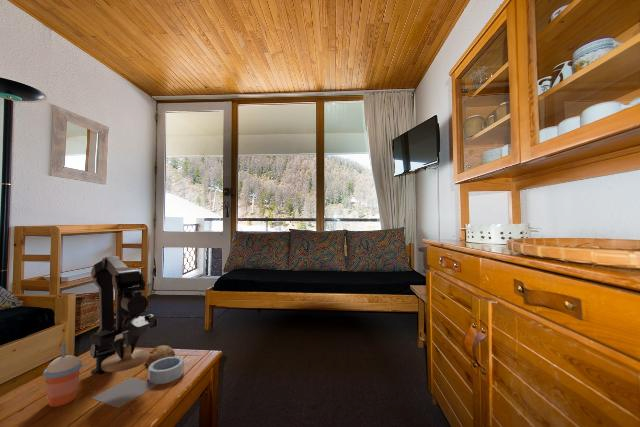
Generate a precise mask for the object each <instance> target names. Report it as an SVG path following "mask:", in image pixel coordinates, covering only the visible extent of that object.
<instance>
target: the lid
mask: <svg viewBox="0 0 640 427" xmlns="http://www.w3.org/2000/svg"><path fill="white" fill-rule="evenodd" d="M149 352H150V351H148V350H147V349H134V351H133V354H131V344H128V343H126V344H124V353H123V358H122V359H121V358H119V356H118V354H117V353H115V354H114V355H112V356H110V357H108V358H106V359H105V360H104V361H103V362H102V363H101V369H102V370H103V371H105V372H106V373H118V372H124V371H129V370H132V369H134V368H137V367H139V366H142V364H143V365H144V364H146V362H147V360H148V359H149Z"/></svg>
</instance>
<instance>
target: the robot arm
mask: <svg viewBox="0 0 640 427" xmlns="http://www.w3.org/2000/svg"><path fill="white" fill-rule="evenodd" d="M91 268H92V269H91V271H90V276H91V278H92V280H93V282H92V283H93V284H94V285H95V286H96V287H97V289H98V305H99V306H98V308H99V309H98V310H99V311H98V312H99V314H98V317H99V327H98V329H97V331H96V332H94V333H92V334H91V335H90V337H89V344H91V347H90V351H89V352H90V356H91V358H92V359H95V367H94V368H93V369H91V371H90V372H91V373H94V374H99V375H104V374H106V373H107V372H105V371H103V370H102V369H101V363H102V362H103V361H104V360H105V359H106V358H108V357H110V356H112V355H114V354H118V356H119V358H121V359H122V358H123V353H124V345H125V344H124V343H125V341H126V340H127V344H131V354H133V351H134V350H136V349H135V348H136V345H137V343H138V341H139V339H140V337H141V336H142V335H143V334H145V333H147V332H148V331H149V329H153V328H155V327H157V326H158V322H159V321H158V319H157V317H155V316H154V314H151V313H150V314H148V315H146V316H145V315H143V316H142V315H141V314H142V313H143V312H145V310H147V308H148V305H149V300H148V298H147V297H146V296H145V295H142V291H145V290H146V286H147V285H146V282H145V280H144V279H145V278H144V276H143V274H142V272H140V270H139V269H138V268H135V267H128V266H127V265H126V263H124V262H123V260H121V257H120V256H117V255H114V256H105V257H103V258H102V259H101V260H100V261H98V262H97V263H95V264H94V265H93V266H92V267H91ZM114 292H115V295H116V302H114V301H115V298H114ZM114 303H115V304H114ZM115 305H116V307H115ZM115 308H116V310H115ZM125 334H126V337H127V338H126V337H124V335H125Z"/></svg>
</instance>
